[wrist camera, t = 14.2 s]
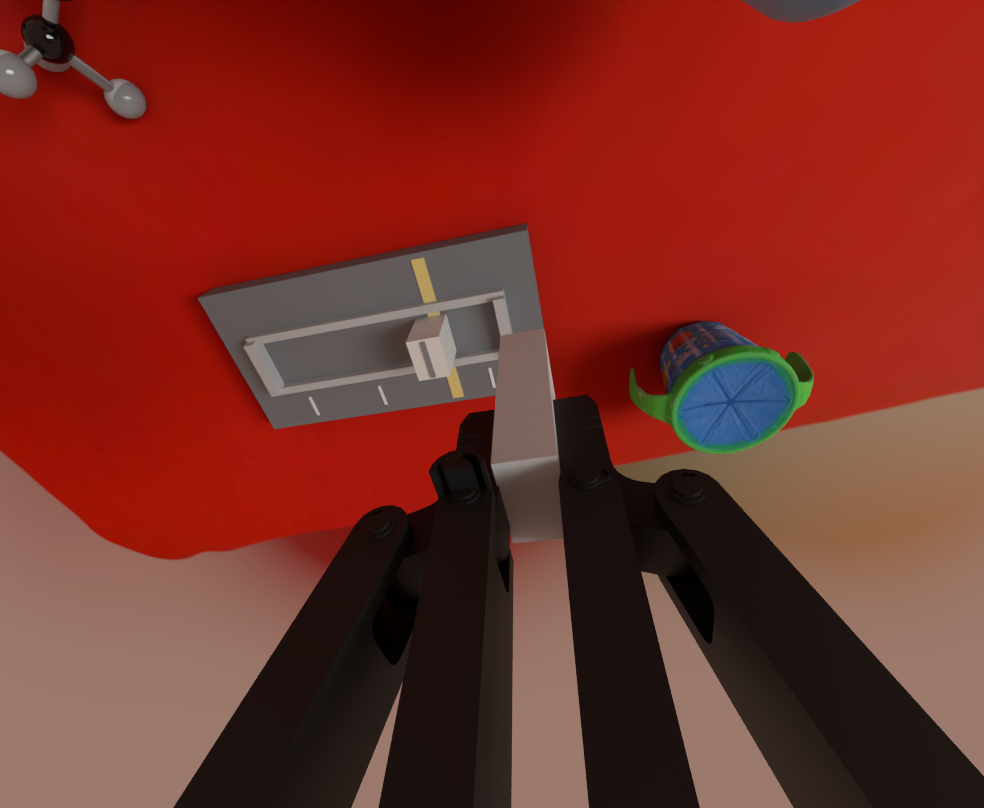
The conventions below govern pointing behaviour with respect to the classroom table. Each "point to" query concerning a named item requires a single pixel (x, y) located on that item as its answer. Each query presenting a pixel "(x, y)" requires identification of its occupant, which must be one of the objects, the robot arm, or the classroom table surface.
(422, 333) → the fader tab
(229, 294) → the panel
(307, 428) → the classroom table surface
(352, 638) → the robot arm
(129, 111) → the molecular model
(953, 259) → the classroom table surface
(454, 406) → the classroom table surface
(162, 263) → the classroom table surface
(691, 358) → the snack cup
